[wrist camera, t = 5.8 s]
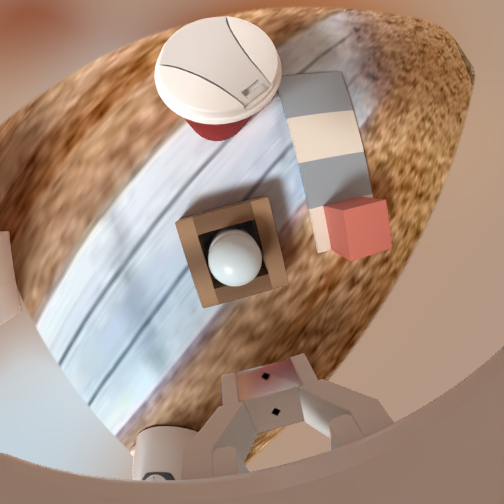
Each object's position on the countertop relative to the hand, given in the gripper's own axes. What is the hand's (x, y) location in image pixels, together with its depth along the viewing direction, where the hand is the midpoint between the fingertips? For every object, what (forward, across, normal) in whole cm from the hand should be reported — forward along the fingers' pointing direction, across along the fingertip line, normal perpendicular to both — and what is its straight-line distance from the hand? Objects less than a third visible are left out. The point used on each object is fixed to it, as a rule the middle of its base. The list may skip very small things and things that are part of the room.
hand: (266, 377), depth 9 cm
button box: (+21, 0, 0) cm, 21 cm away
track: (+21, +13, +7) cm, 25 cm away
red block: (+20, +13, 0) cm, 24 cm away
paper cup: (+21, +2, +14) cm, 25 cm away
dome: (+20, 0, 0) cm, 20 cm away
